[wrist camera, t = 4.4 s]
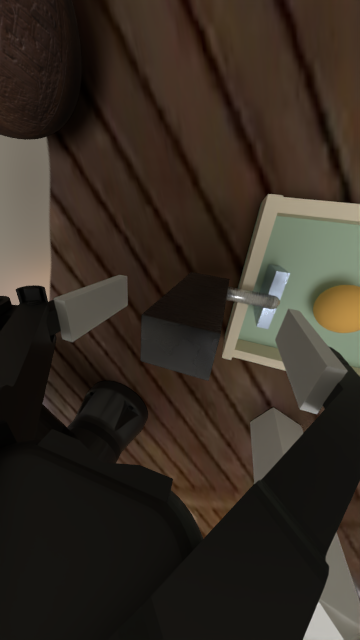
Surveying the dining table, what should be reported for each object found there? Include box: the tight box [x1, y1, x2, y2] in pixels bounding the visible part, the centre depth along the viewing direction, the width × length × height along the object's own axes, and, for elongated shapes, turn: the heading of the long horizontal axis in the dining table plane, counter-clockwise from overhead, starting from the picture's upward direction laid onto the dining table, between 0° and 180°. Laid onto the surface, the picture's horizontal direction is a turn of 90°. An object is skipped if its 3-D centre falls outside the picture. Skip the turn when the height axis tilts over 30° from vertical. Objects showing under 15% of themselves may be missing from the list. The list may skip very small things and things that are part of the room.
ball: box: [313, 285, 360, 333], centre depth 19 cm, size 5×5×5 cm
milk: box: [250, 407, 360, 640], centre depth 24 cm, size 6×6×22 cm
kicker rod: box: [141, 264, 290, 381], centre depth 16 cm, size 9×6×16 cm, turn 83°
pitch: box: [222, 194, 360, 376], centre depth 20 cm, size 25×18×5 cm
